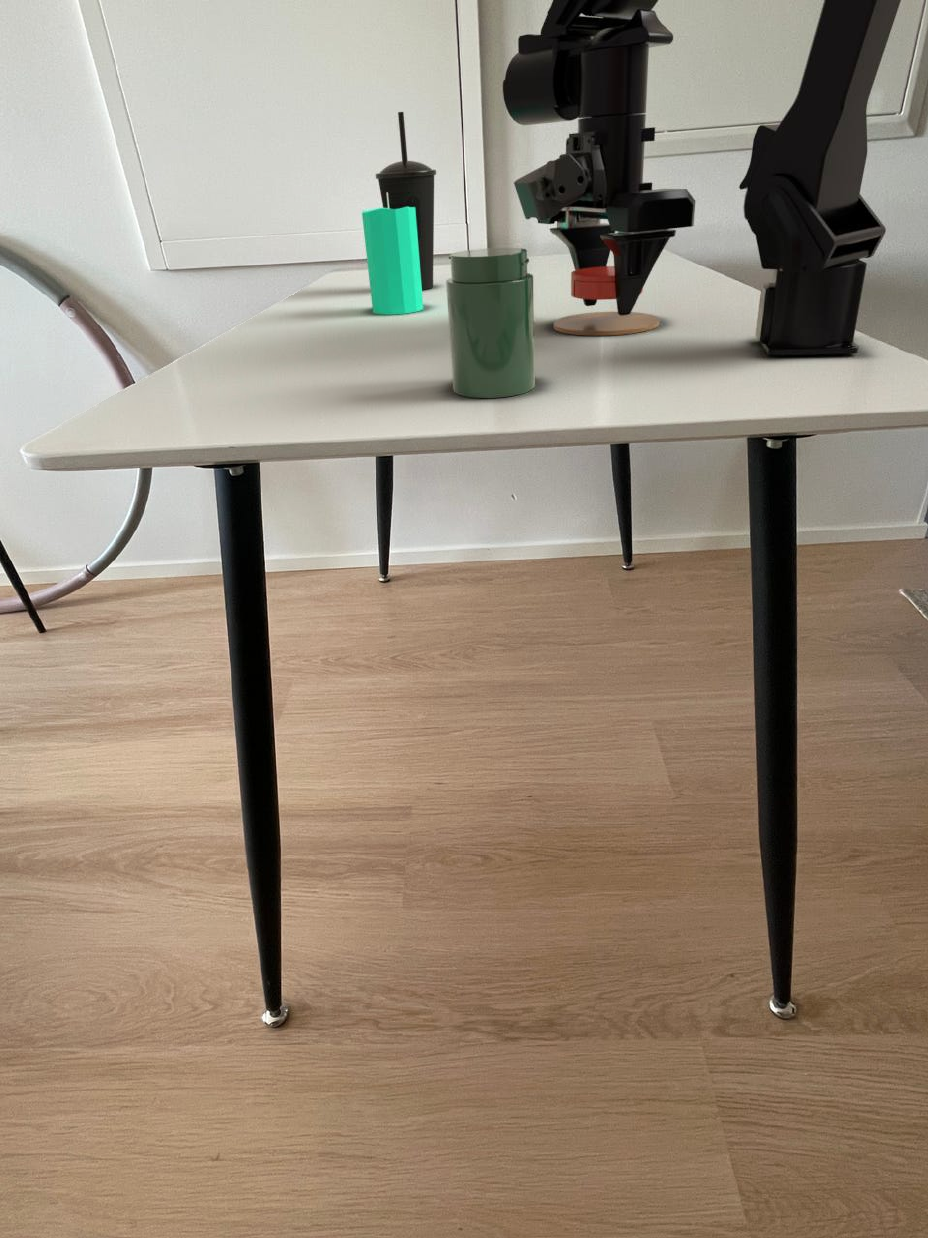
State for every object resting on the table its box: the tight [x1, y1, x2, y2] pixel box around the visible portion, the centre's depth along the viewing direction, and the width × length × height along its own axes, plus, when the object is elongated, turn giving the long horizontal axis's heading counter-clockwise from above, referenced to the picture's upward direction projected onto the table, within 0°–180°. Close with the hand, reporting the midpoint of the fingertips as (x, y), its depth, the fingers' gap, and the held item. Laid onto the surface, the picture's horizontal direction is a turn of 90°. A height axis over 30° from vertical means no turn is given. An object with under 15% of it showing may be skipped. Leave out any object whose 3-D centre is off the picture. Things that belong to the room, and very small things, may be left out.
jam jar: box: [445, 247, 536, 399], centre depth 56 cm, size 6×6×9 cm
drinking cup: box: [375, 111, 437, 291], centre depth 101 cm, size 8×8×20 cm
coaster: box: [553, 311, 660, 337], centre depth 76 cm, size 10×10×1 cm
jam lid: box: [570, 265, 644, 301], centre depth 74 cm, size 7×7×2 cm
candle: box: [361, 192, 424, 316], centre depth 89 cm, size 6×6×12 cm
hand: (606, 309), depth 76 cm, fingers closed on jam lid, 6 cm apart
